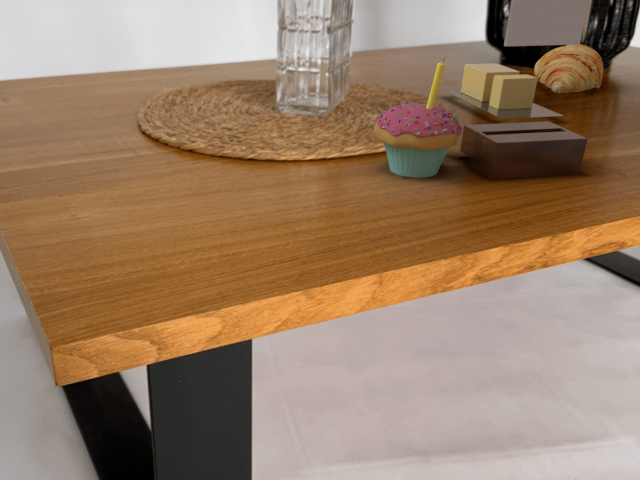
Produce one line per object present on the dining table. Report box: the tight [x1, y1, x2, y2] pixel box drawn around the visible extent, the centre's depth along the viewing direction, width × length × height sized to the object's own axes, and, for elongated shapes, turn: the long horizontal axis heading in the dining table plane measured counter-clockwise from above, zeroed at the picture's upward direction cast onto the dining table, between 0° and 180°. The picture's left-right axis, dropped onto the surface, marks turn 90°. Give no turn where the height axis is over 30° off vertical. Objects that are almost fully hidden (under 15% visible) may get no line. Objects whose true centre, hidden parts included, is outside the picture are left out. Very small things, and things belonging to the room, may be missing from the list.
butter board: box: [446, 62, 565, 120], centre depth 94 cm, size 16×9×5 cm, turn 11°
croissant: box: [533, 43, 605, 94], centre depth 109 cm, size 21×10×8 cm, turn 154°
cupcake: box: [373, 54, 463, 179], centre depth 69 cm, size 9×8×12 cm
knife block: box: [458, 120, 589, 180], centre depth 72 cm, size 10×7×4 cm
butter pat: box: [489, 73, 538, 110], centre depth 92 cm, size 2×5×4 cm, turn 101°
